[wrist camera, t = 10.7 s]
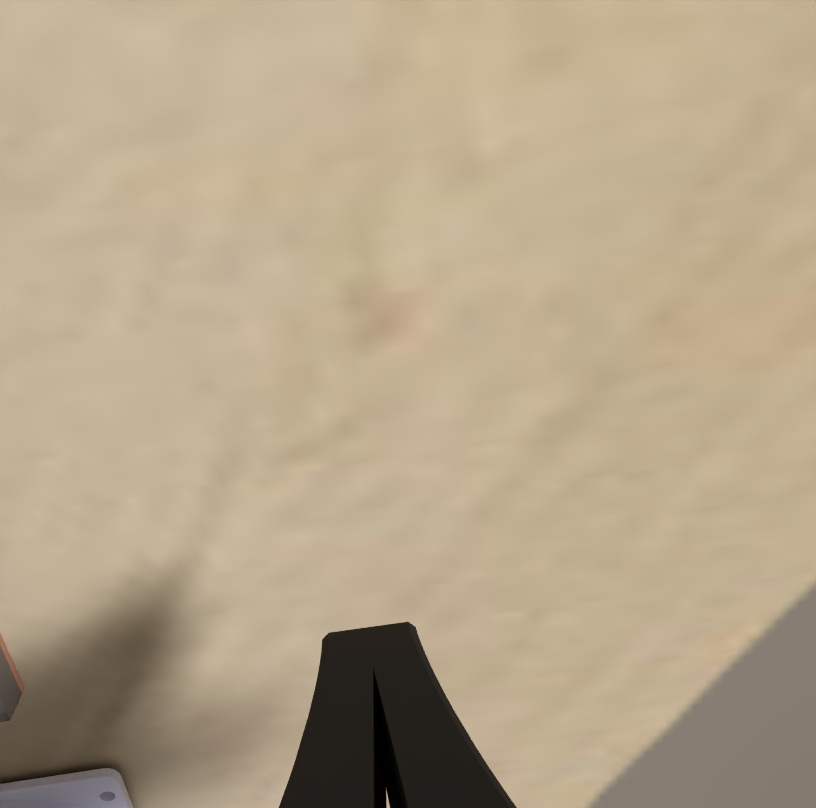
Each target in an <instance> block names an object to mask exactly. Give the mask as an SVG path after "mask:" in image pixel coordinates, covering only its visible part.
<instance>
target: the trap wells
mask: <svg viewBox="0 0 816 808" xmlns="http://www.w3.org/2000/svg"><path fill="white" fill-rule="evenodd" d="M23 689H24V687H23V685H22V683H21V680H20V678H19V676H18V674H17V671H16V669H15V667H14V664H13V662H12V660H11V658H10V655H9V653H8V651H7V649H6V646H5V644H4V642H3V639H2V637H1V635H0V722H2V721H9V720H11V718H12V715H13V713H14V711H15V708H16V706H17V704H18V701H19V699H20V696H21V694H22V692H23Z"/></svg>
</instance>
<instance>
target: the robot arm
mask: <svg viewBox="0 0 816 808" xmlns="http://www.w3.org/2000/svg"><path fill="white" fill-rule="evenodd" d="M386 789H387V794H388V799H389V804H390V808H516V806H515V805H514V803H513V802H512V801H511V799H510V798H509V796H508V795H507V793H506V792H505V790H504V789H503V788H502V786H501V785H500V783H499V782H498V780H497V779H496V777H495V776H494V774H493V773H492V771H491V770H490V768H489V767H488V765H487V764H486V762H485V761H484V759H483V758H482V756H481V754H480V753H479V751H478V750H477V748H476V747H475V745H474V743H473V742H472V740H471V738H470V737H469V735H468V733H467V732H466V730H465V728H464V727H463V725H462V723H461V722H460V720H459V718H458V717H457V715H456V713H455V711H454V710H453V708H452V706H451V704H450V703H449V701H448V699H447V697H446V695H445V693H444V691H443V689H442V688H441V686H440V684H439V682H438V680H437V678H436V676H435V674H434V672H433V670H432V668H431V665H430V663H429V661H428V659H427V657H426V654H425V652H424V650H423V647H422V645H421V642H420V639H419V637H418V634H417V631H416V627H415V626H413V625H412V624H410V623H409V622H404V623H396V624H389V625H382V626H375V627H368V628H360V629H353V630H346V631H339V632H332V633H328V634H327V635H326V636H325V637H324V638H323V639H322V652H321V659H320V666H319V672H318V677H317V682H316V687H315V691H314V695H313V699H312V704H311V708H310V712H309V716H308V719H307V723H306V726H305V729H304V733H303V736H302V740H301V743H300V746H299V750H298V753H297V757H296V760H295V763H294V766H293V769H292V772H291V775H290V778H289V781H288V784H287V786H286V789H285V792H284V795H283V798H282V800H281V803H280V806H279V808H386ZM0 808H133V806H132V803H131V800H130V798H129V795H128V792H127V790H126V787H125V785H124V782H123V779H122V777H121V775H120V773H119V772H118V771H116V770H114V769H110V768H102V769H95V770H89V771H82V772H75V773H69V774H62V775H56V776H49V777H43V778H36V779H29V780H23V781H16V782H10V783H3V784H0Z"/></svg>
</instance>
